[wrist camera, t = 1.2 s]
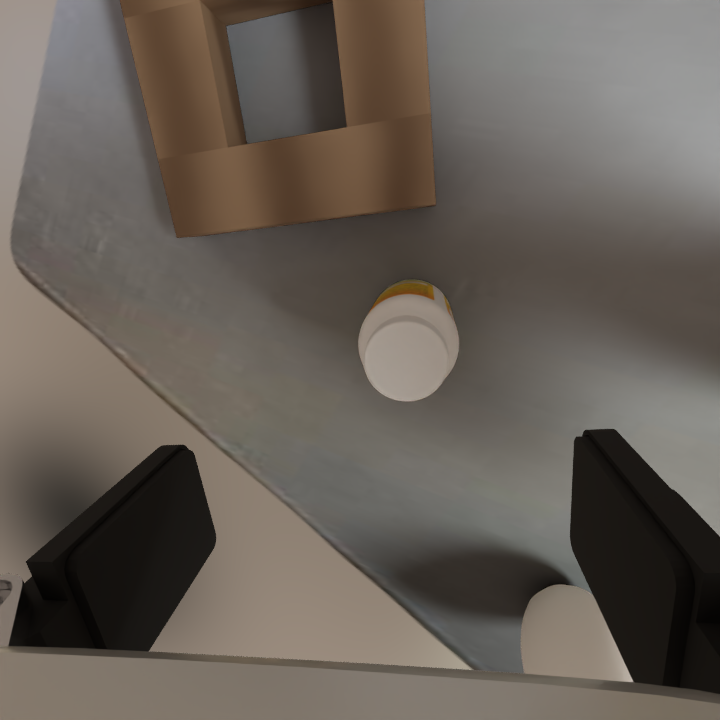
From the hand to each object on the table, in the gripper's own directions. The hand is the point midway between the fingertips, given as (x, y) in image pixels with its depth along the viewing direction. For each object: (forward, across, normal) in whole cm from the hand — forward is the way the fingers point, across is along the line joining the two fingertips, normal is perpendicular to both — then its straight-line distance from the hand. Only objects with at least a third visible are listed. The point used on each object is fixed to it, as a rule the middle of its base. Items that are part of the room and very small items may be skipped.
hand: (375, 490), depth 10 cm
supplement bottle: (+20, 0, 0) cm, 20 cm away
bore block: (+19, +6, -15) cm, 25 cm away
